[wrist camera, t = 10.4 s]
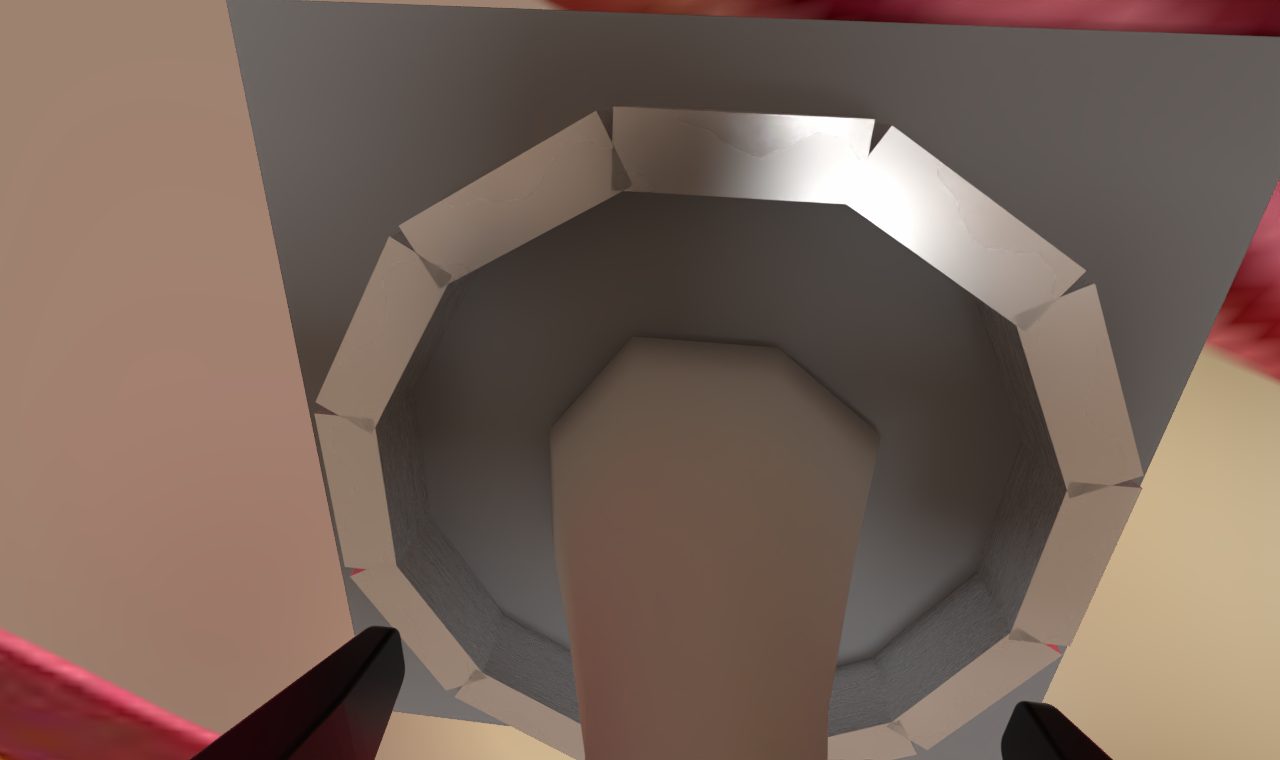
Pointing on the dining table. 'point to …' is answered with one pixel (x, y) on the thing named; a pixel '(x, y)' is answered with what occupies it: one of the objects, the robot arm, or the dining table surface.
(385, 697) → the robot arm
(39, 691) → the dining table surface
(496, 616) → the stone ring
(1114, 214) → the rubber mat
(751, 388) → the flask
